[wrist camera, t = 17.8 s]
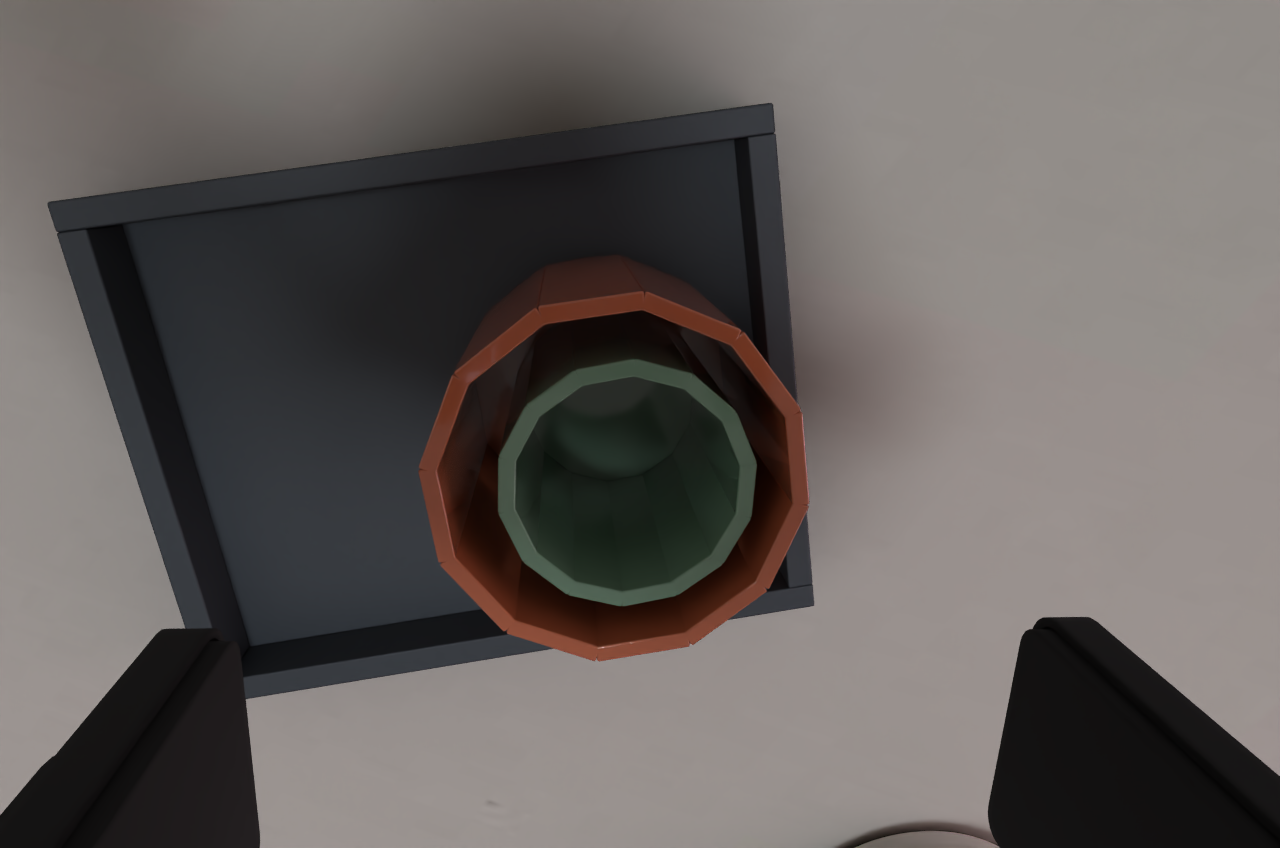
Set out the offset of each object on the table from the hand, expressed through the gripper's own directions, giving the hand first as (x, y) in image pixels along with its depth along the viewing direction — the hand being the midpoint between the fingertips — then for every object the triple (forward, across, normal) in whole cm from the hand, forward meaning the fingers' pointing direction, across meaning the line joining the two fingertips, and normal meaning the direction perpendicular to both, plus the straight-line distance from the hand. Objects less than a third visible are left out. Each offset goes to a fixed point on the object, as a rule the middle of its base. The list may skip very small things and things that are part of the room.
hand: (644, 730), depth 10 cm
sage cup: (+17, -1, +1) cm, 17 cm away
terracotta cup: (+18, 0, 0) cm, 18 cm away
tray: (+18, +3, +1) cm, 19 cm away
